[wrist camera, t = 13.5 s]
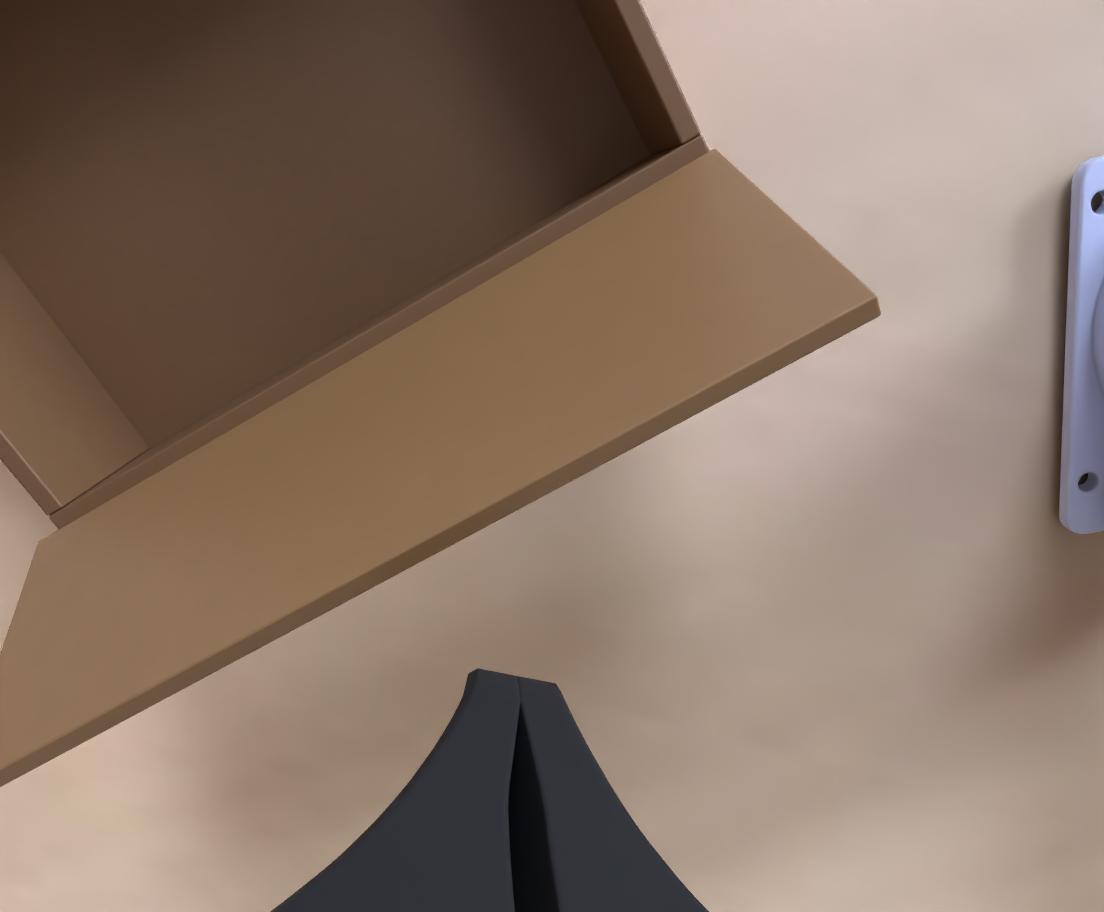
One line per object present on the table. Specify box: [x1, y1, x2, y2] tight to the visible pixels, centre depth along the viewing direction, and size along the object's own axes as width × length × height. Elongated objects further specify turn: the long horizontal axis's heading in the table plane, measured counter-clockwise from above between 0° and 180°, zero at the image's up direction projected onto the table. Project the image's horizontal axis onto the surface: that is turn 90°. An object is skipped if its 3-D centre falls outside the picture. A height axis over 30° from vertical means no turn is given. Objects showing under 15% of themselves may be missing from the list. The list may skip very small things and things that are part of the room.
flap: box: [0, 149, 881, 787], centre depth 13 cm, size 15×5×1 cm
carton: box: [0, 0, 710, 530], centre depth 16 cm, size 15×11×4 cm
